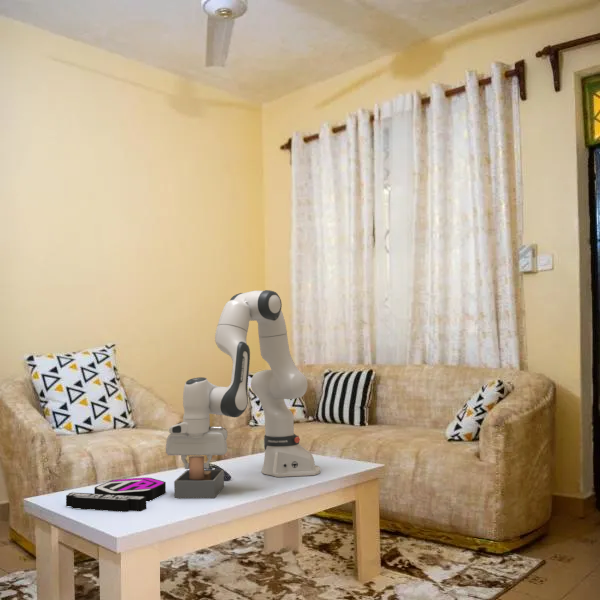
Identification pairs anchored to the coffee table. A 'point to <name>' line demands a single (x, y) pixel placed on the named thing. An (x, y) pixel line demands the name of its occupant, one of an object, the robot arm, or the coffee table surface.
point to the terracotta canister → (196, 467)
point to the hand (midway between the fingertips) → (196, 468)
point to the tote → (199, 485)
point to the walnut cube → (206, 476)
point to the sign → (119, 495)
